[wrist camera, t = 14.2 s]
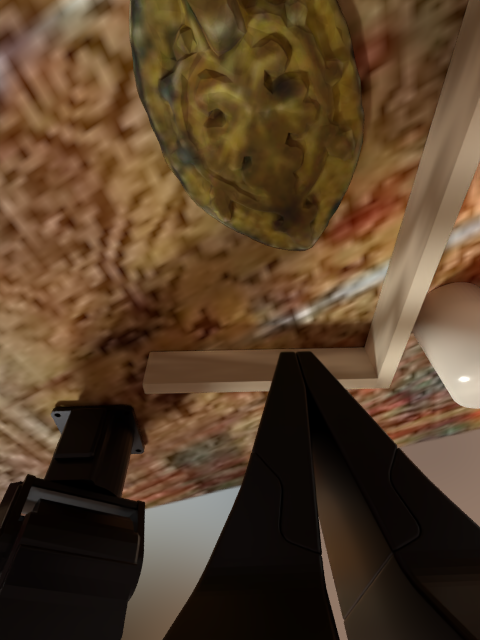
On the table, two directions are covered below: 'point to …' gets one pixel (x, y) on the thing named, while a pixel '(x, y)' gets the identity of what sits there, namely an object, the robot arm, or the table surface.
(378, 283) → the table surface
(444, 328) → the cream capsule shape
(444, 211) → the frame
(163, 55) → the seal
